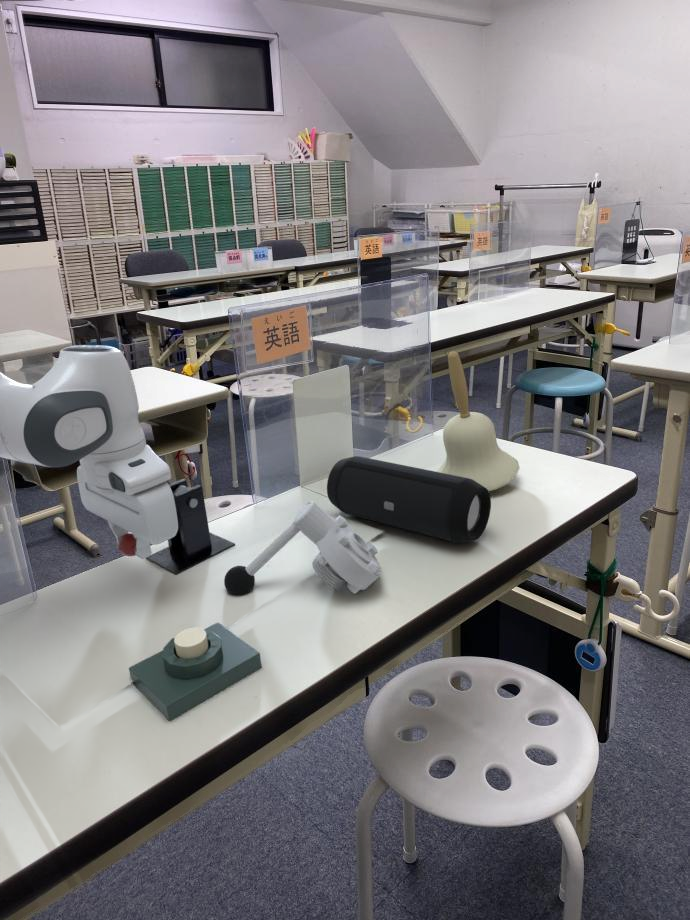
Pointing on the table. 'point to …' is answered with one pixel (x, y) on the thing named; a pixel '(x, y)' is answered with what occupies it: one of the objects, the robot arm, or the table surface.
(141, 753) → the table surface
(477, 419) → the handbell
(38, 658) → the table surface
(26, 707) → the table surface
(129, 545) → the lever
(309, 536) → the mechanical valve
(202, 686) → the control block
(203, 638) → the button
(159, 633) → the table surface
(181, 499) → the bracket
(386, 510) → the portable speaker
